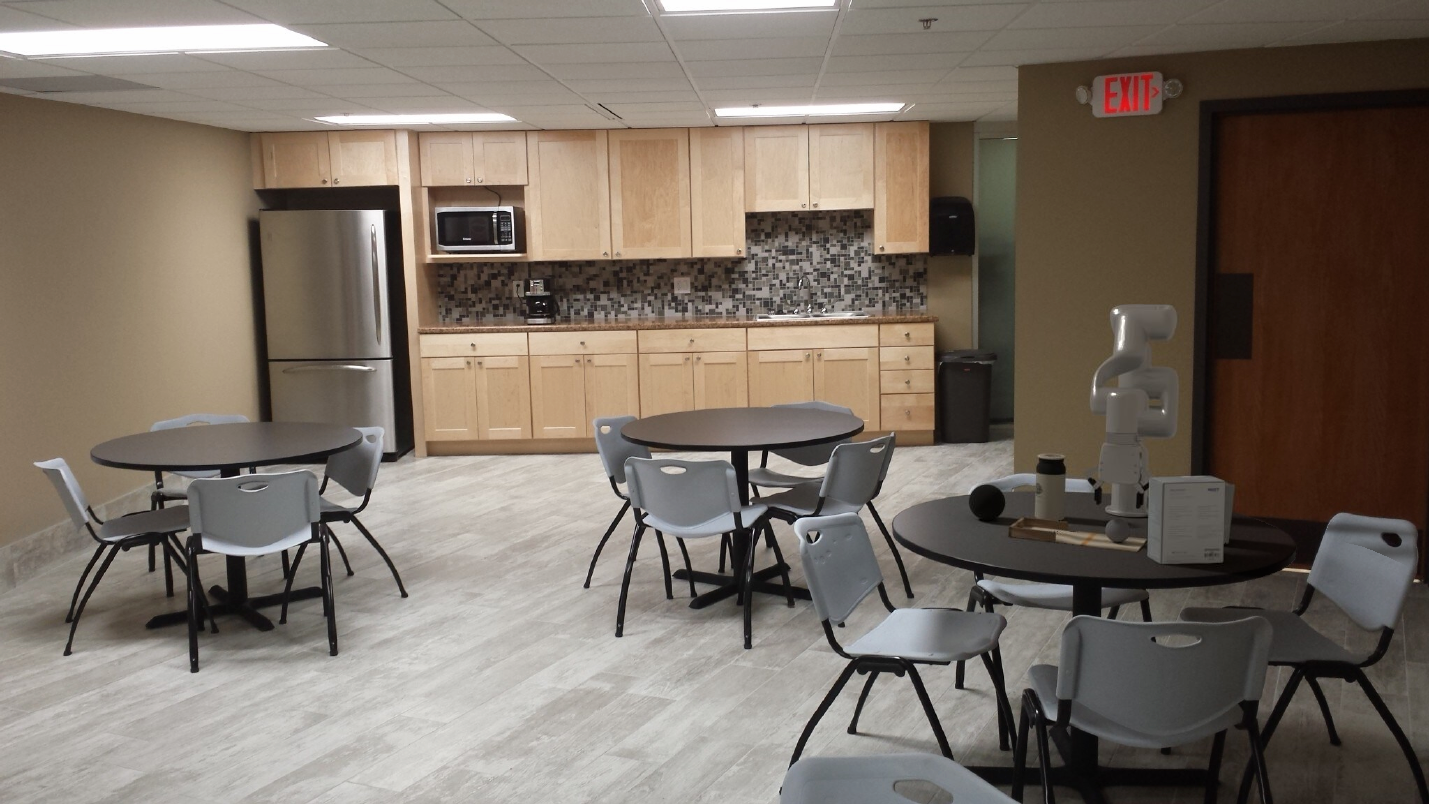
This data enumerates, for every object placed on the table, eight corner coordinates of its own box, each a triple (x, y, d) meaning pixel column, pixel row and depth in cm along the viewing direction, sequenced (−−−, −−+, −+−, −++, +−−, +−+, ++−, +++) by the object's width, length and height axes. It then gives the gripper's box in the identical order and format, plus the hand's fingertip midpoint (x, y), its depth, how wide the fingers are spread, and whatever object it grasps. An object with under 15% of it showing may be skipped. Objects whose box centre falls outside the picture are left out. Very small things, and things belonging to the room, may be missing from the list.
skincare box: (1185, 538, 279) (1188, 478, 277) (1207, 536, 282) (1209, 476, 280) (1211, 546, 271) (1214, 484, 270) (1232, 543, 274) (1236, 482, 272)
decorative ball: (996, 525, 295) (997, 489, 294) (962, 520, 301) (963, 485, 300) (1010, 518, 303) (1011, 483, 302) (977, 514, 309) (977, 480, 308)
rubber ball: (1107, 538, 279) (1108, 515, 278) (1131, 540, 276) (1132, 518, 275) (1102, 543, 274) (1103, 520, 273) (1127, 546, 271) (1128, 522, 270)
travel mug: (1060, 515, 307) (1062, 453, 305) (1067, 521, 299) (1069, 458, 297) (1032, 515, 308) (1034, 453, 305) (1037, 521, 300) (1039, 457, 298)
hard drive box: (1208, 555, 263) (1212, 475, 260) (1224, 563, 255) (1228, 481, 253) (1145, 556, 262) (1149, 476, 260) (1159, 564, 254) (1163, 482, 252)
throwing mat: (1022, 526, 294) (1023, 516, 294) (1146, 540, 278) (1147, 530, 277) (1008, 536, 282) (1008, 527, 282) (1137, 552, 266) (1137, 542, 266)
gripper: (1160, 440, 270) (1157, 507, 272) (1089, 435, 279) (1086, 500, 281) (1155, 443, 264) (1152, 511, 266) (1082, 438, 273) (1080, 504, 274)
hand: (1118, 505), depth 273 cm, fingers open, 9 cm apart
